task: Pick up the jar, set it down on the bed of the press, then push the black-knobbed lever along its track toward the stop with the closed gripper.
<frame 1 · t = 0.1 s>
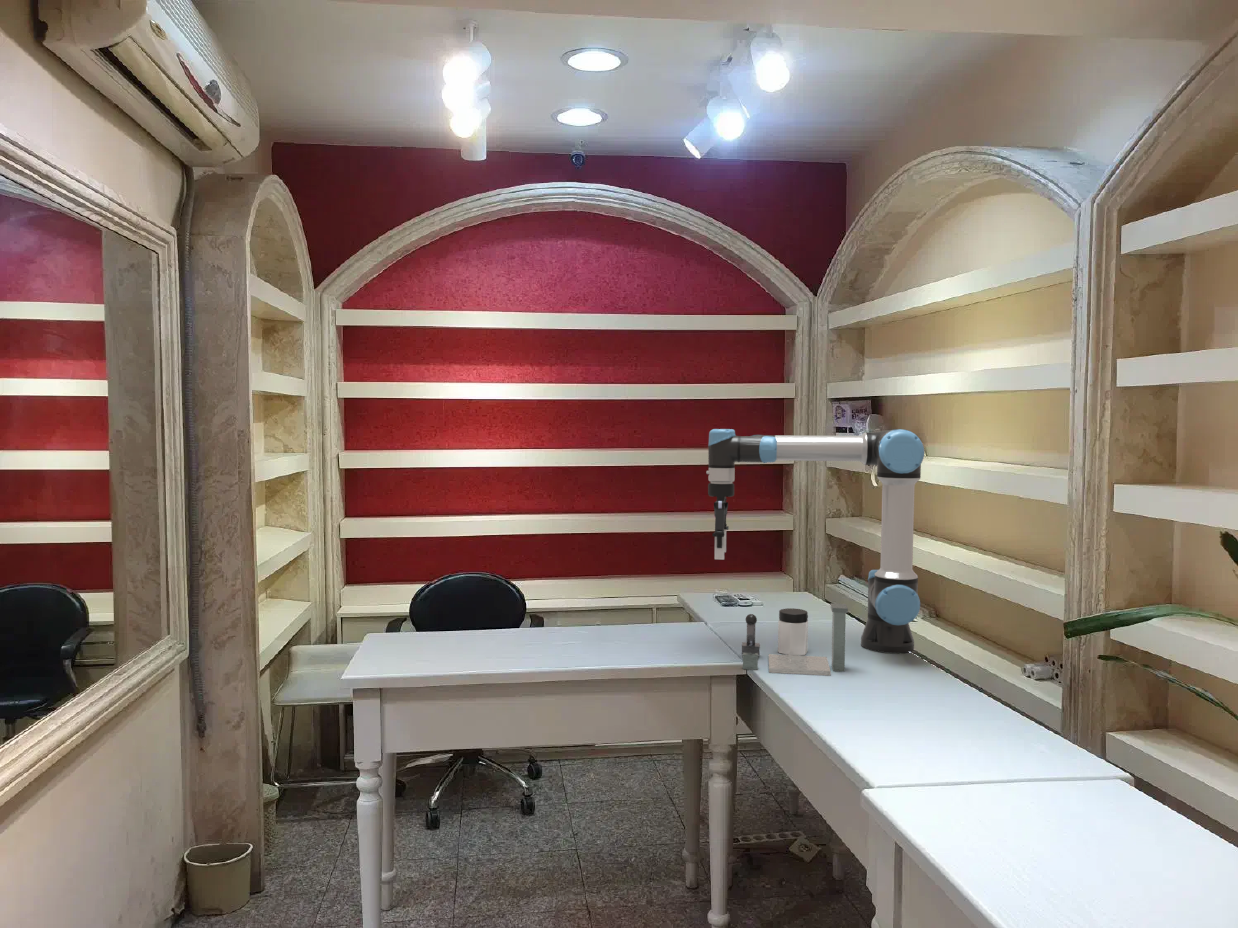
hand: (720, 555, 254), 28 cm above the table, fingers open, 13 cm apart
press: (798, 666, 239), on the table
lever: (750, 633, 249), point 7 cm above the table, slide at 0.0 cm
jar: (792, 652, 254), on the table
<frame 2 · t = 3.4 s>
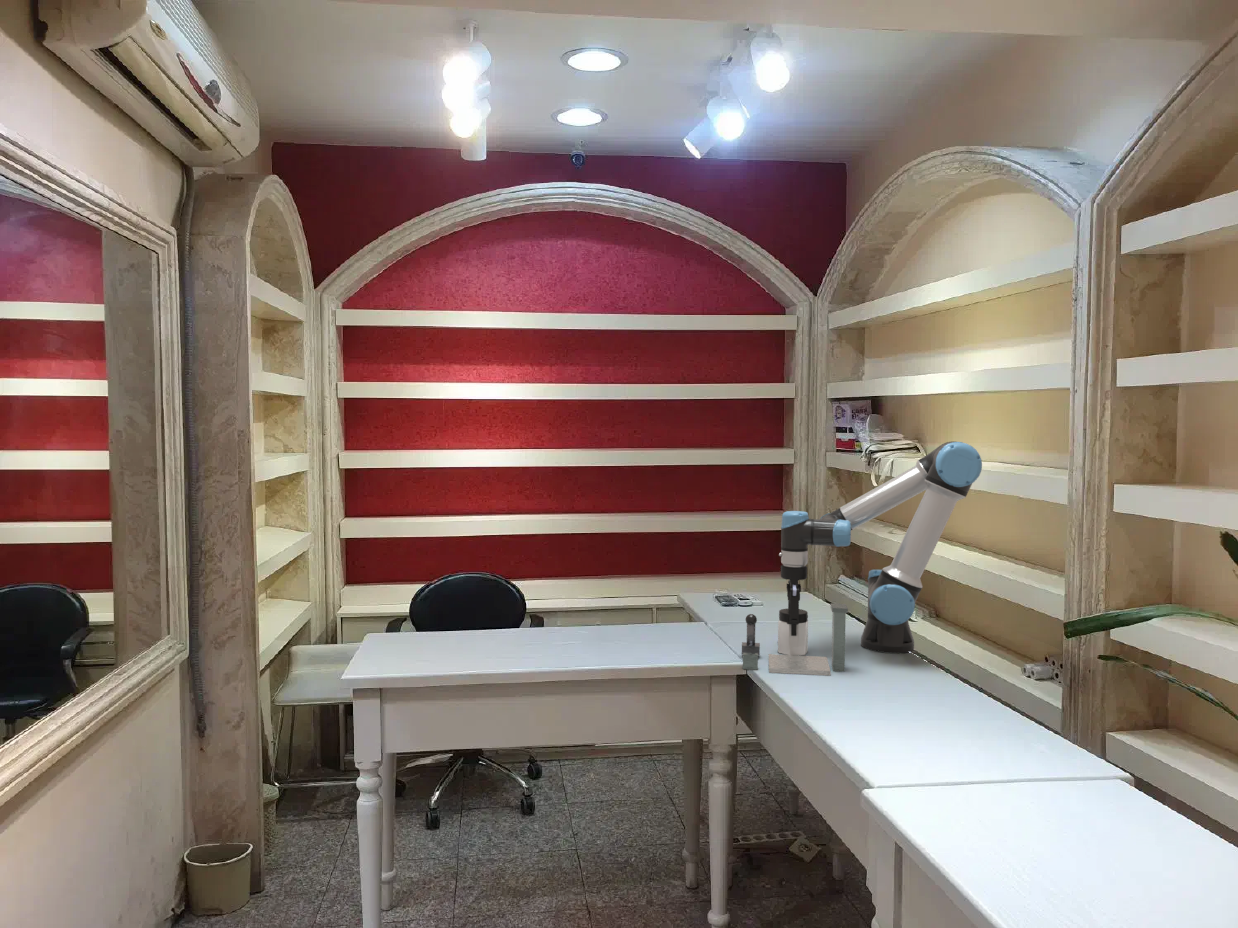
hand: (792, 642, 254), 3 cm above the table, fingers closed on jar, 8 cm apart
jar: (792, 652, 254), on the table, touching gripper
everything else where it was.
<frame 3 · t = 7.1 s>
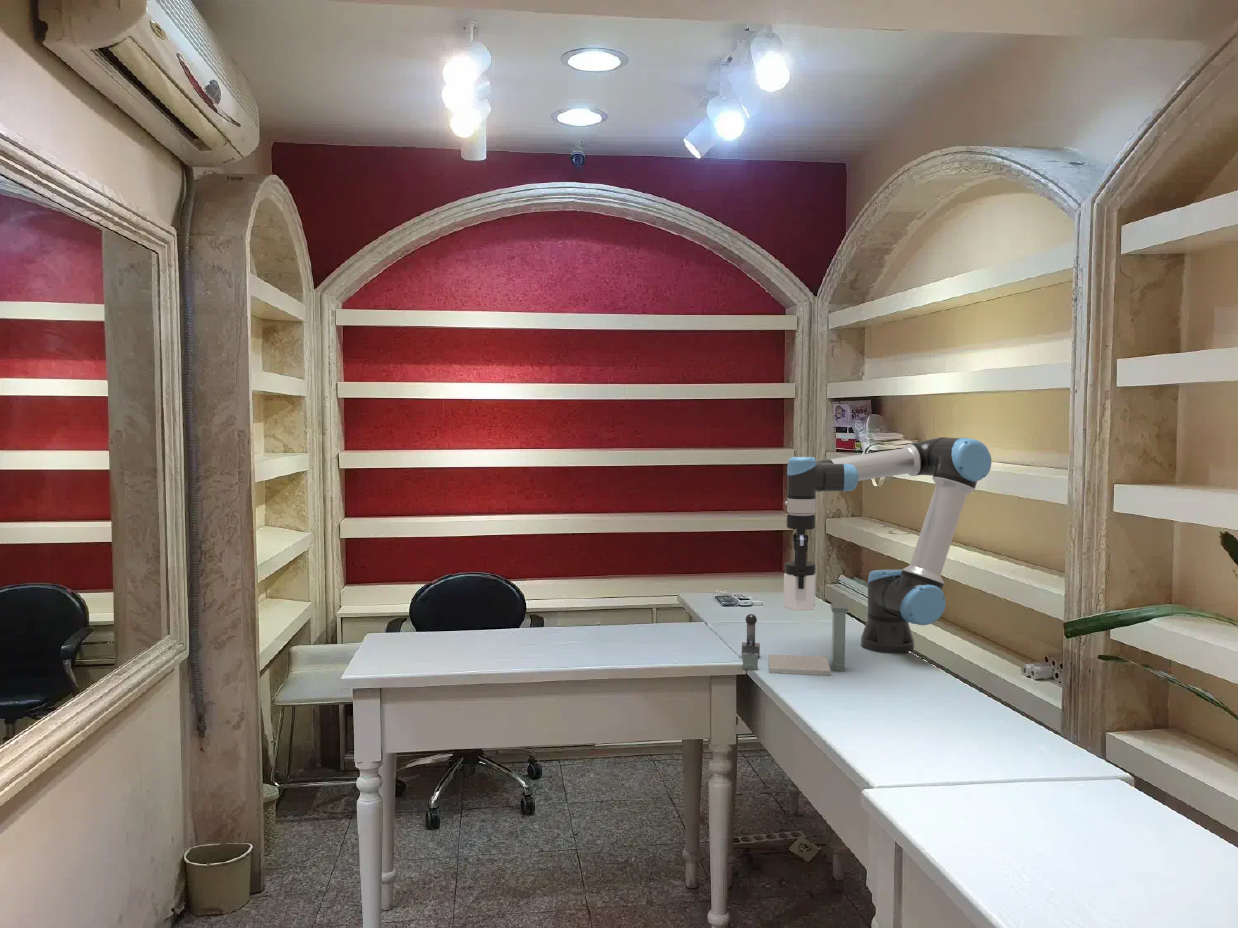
hand: (799, 596, 238), 19 cm above the table, fingers closed on jar, 8 cm apart
jar: (799, 608, 238), point 16 cm above the table, touching gripper
everything else where it was.
when the fingers open (5 cm above the table, at t = 11.3 s): jar stays where it is, resting on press.
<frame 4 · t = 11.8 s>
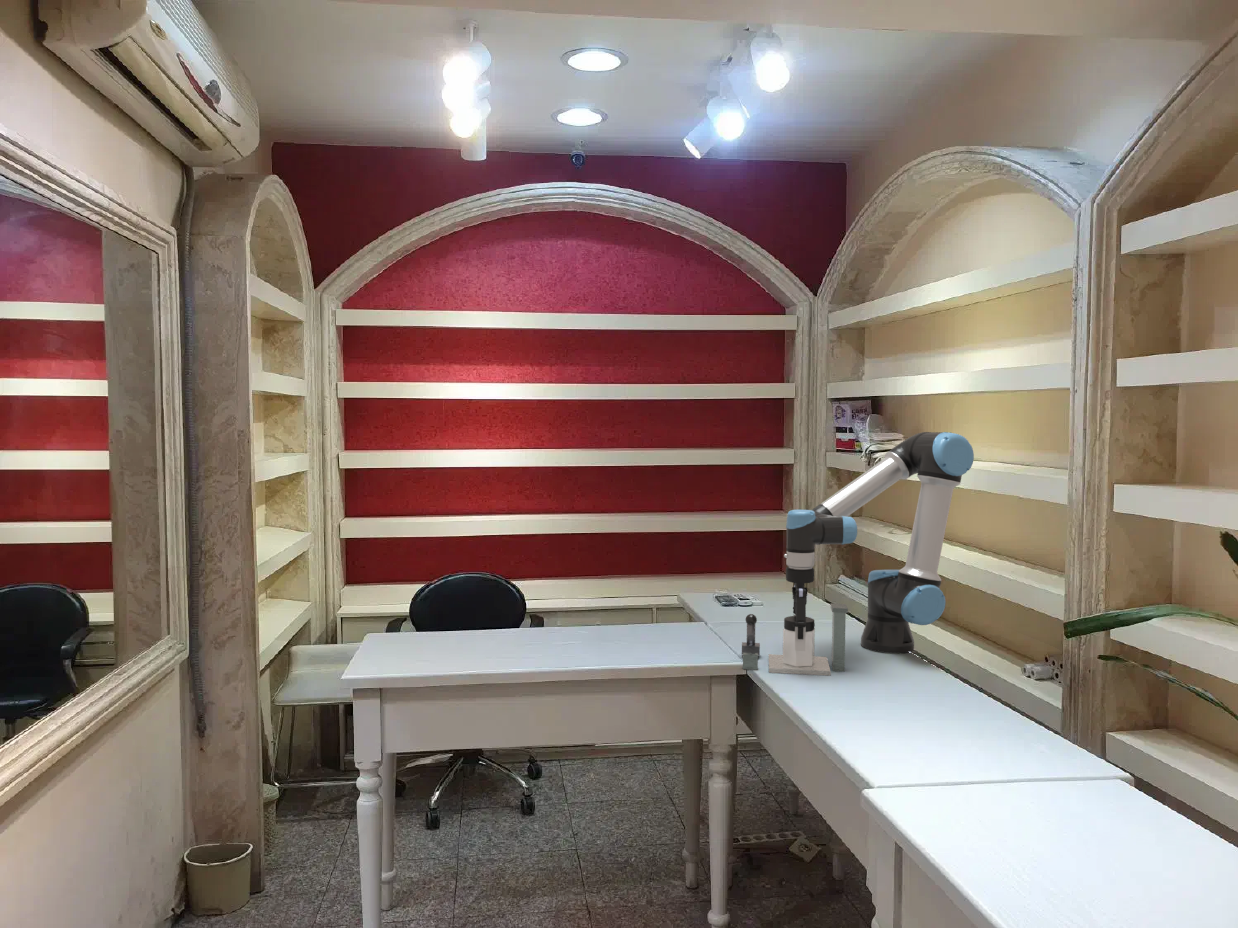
hand: (798, 644, 239), 6 cm above the table, fingers open, 13 cm apart
jar: (798, 663, 239), point 1 cm above the table, touching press
everything else where it was.
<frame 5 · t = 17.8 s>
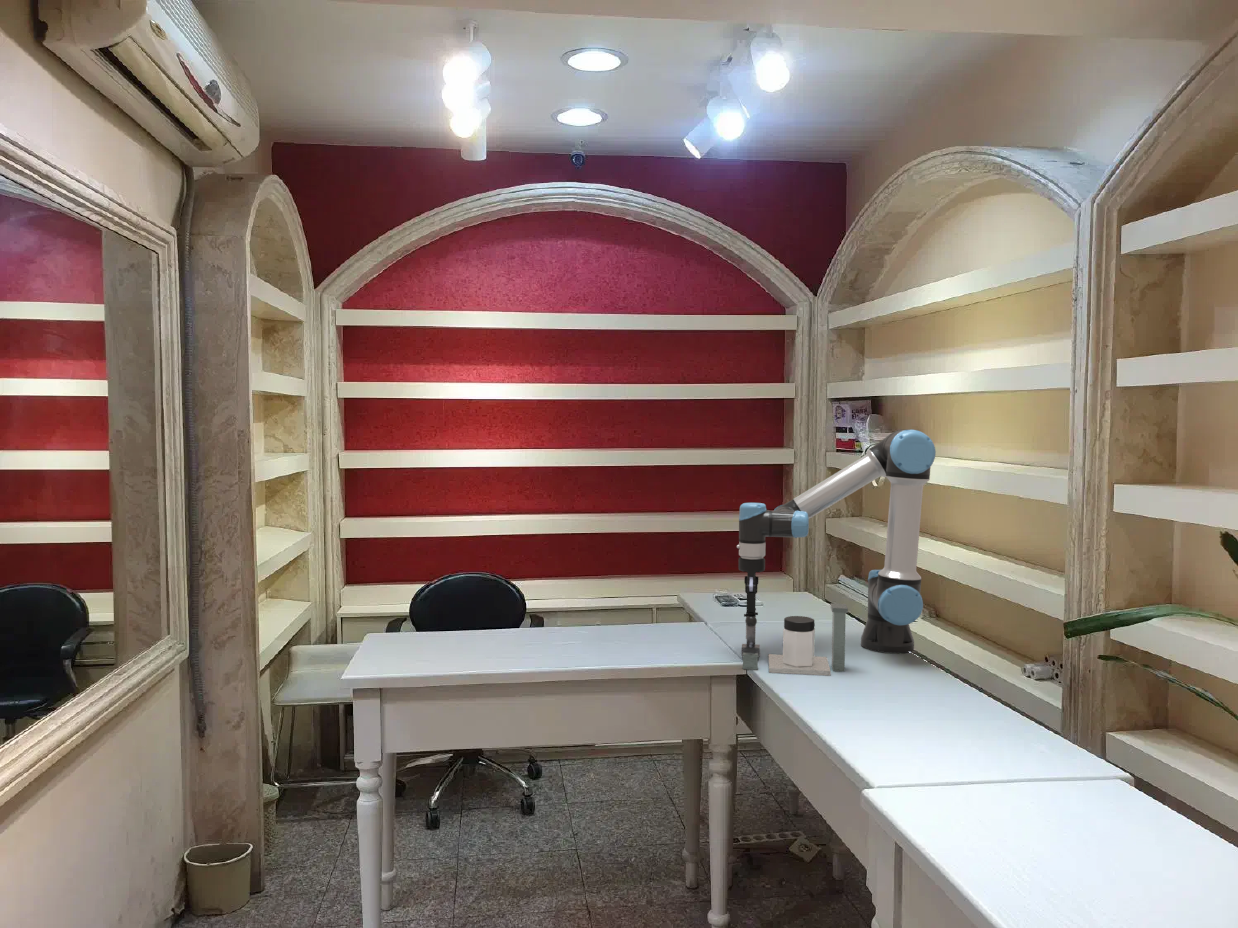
hand: (750, 638, 252), 4 cm above the table, fingers closed
lever: (750, 634, 247), point 7 cm above the table, slide at 1.7 cm, touching gripper
everything else where it was.
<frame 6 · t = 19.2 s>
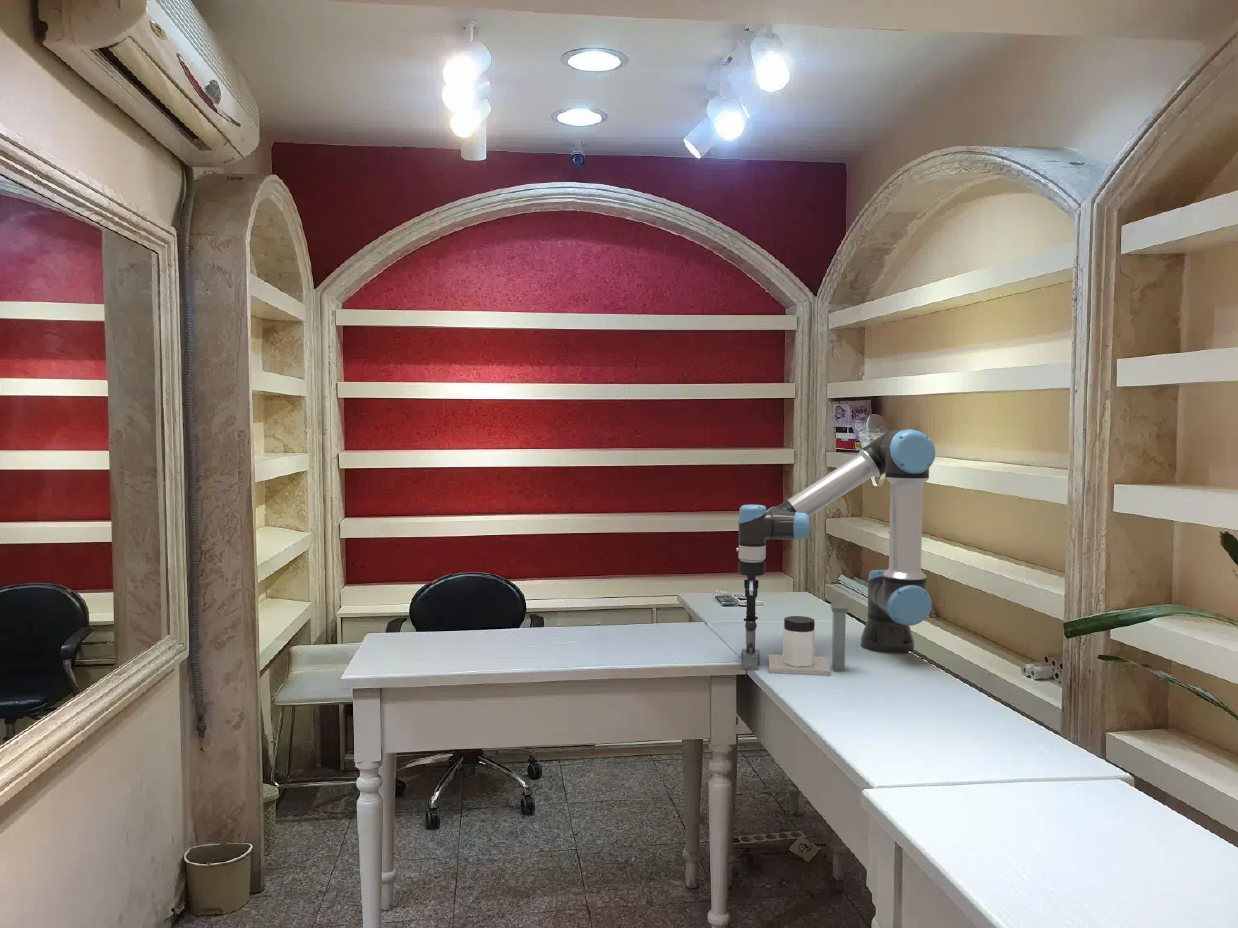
hand: (750, 643, 247), 4 cm above the table, fingers closed
lever: (750, 639, 242), point 7 cm above the table, slide at 7.2 cm, touching gripper
everything else where it was.
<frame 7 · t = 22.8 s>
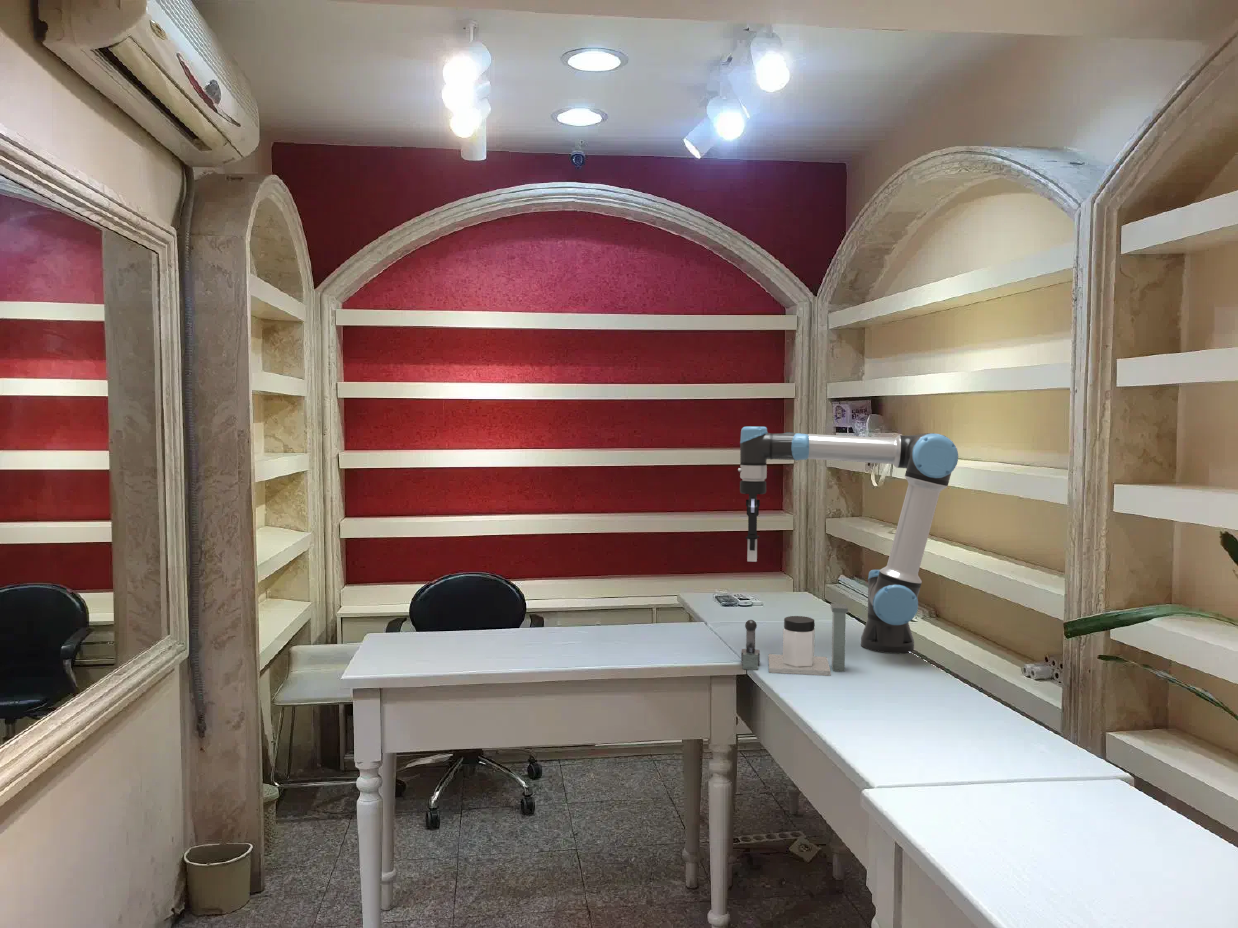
hand: (752, 561, 254), 26 cm above the table, fingers closed
lever: (750, 639, 242), point 7 cm above the table, slide at 7.2 cm
everything else where it was.
at the end: jar 0.3 cm from the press (horizontally); jar tilted 0°; lever slide at 7.2 cm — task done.
